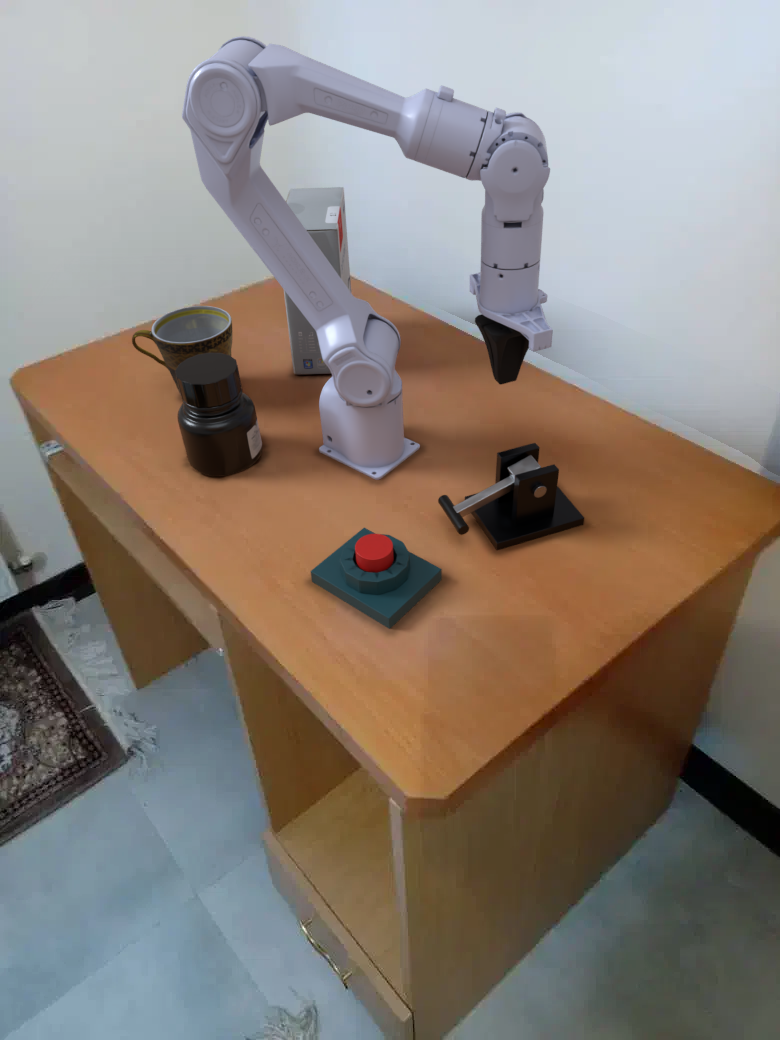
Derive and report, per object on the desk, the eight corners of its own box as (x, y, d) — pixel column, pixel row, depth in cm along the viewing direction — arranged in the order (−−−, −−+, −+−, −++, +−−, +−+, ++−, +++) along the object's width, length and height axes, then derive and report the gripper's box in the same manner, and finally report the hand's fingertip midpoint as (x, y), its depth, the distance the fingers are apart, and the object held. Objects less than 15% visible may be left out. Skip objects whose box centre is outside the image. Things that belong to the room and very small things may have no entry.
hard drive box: (349, 375, 107) (336, 229, 94) (293, 377, 107) (273, 232, 94) (354, 321, 119) (344, 184, 106) (304, 322, 119) (287, 186, 106)
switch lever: (461, 540, 79) (455, 525, 78) (441, 509, 83) (434, 494, 81) (553, 491, 80) (548, 475, 78) (528, 462, 83) (524, 446, 82)
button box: (312, 583, 78) (308, 557, 76) (365, 539, 83) (363, 513, 80) (389, 630, 73) (388, 605, 71) (441, 581, 78) (441, 555, 75)
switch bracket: (496, 552, 80) (500, 496, 75) (464, 505, 86) (465, 451, 81) (583, 526, 83) (592, 471, 78) (546, 482, 88) (552, 428, 83)
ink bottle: (277, 462, 93) (262, 373, 85) (208, 490, 90) (185, 400, 82) (242, 424, 99) (225, 338, 91) (176, 449, 96) (152, 362, 88)
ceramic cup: (248, 370, 109) (235, 303, 103) (240, 410, 102) (226, 341, 95) (154, 375, 109) (136, 308, 103) (139, 416, 102) (118, 346, 95)
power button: (348, 562, 76) (347, 548, 74) (373, 541, 78) (371, 528, 76) (377, 578, 74) (376, 565, 73) (401, 557, 76) (400, 543, 75)
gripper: (586, 278, 72) (572, 404, 81) (513, 224, 82) (508, 341, 91) (516, 294, 70) (510, 421, 79) (451, 237, 81) (452, 355, 90)
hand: (505, 379), depth 85 cm, fingers closed
